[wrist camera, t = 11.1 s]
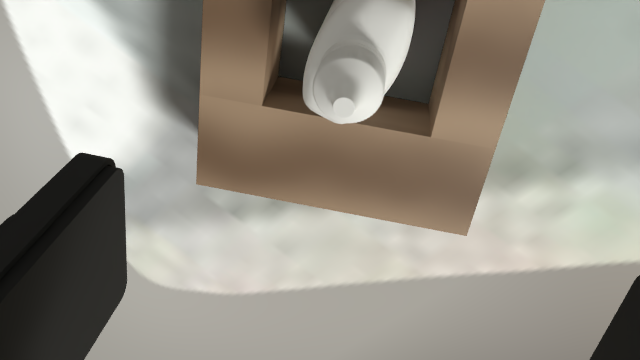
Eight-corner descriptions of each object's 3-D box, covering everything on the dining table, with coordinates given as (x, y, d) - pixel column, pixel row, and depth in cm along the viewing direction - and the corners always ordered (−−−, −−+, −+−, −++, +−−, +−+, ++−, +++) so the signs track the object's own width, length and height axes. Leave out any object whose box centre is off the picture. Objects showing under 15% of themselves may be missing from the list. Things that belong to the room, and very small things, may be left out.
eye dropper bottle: (295, 3, 29) (232, 93, 19) (395, -62, 27) (386, -2, 17) (342, 76, 30) (308, 196, 20) (440, 19, 28) (458, 122, 18)
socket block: (239, -230, 24) (211, -242, 21) (576, -176, 24) (604, -179, 20) (217, 148, 34) (196, 184, 30) (460, 194, 33) (466, 235, 30)
